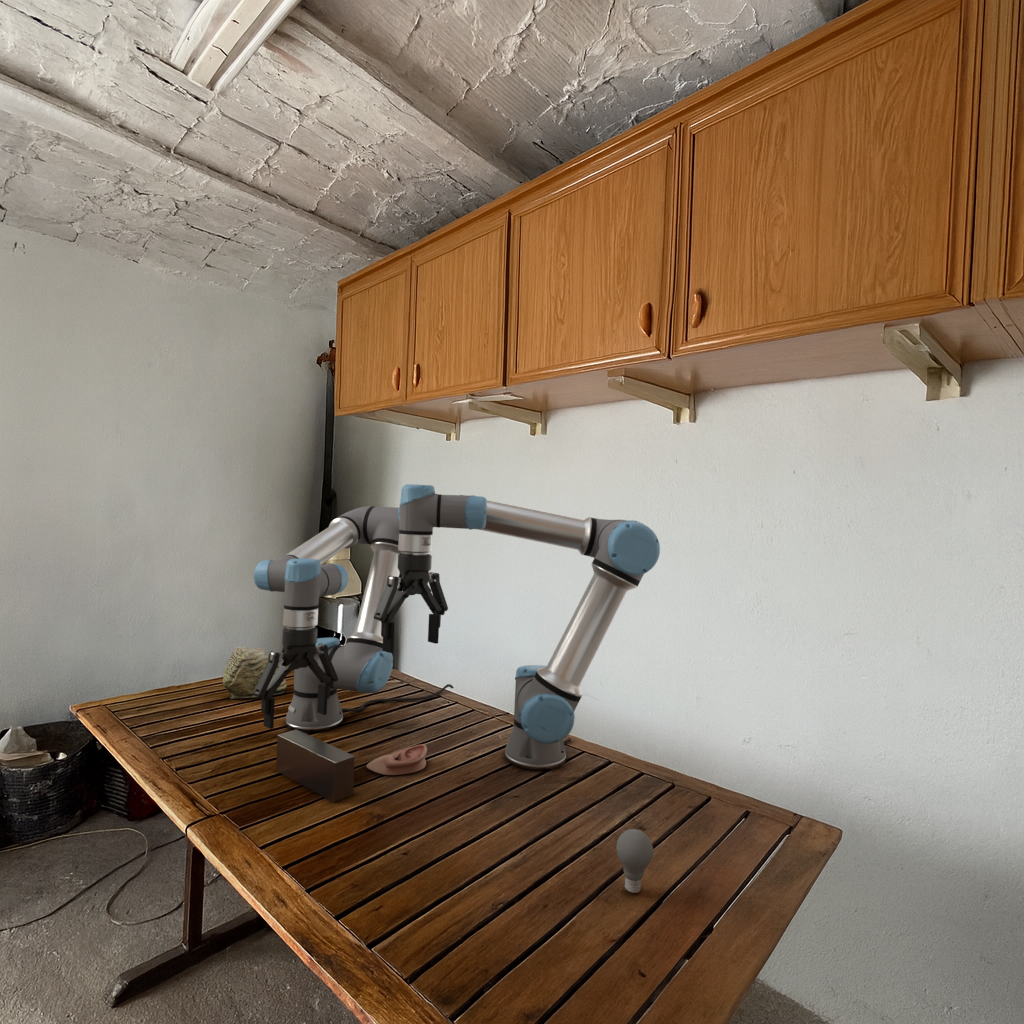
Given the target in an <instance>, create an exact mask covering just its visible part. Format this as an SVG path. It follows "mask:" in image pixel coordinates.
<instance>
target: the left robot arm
mask: <svg viewBox="0 0 1024 1024" xmlns="http://www.w3.org/2000/svg"><path fill="white" fill-rule="evenodd" d="M399 520H400V506H399V507H395V506H373V505H365V506H361V507H357V508H354V509H352V510H349V511H347V512H345V513H343V514H341V515H339V516H337V517H336V518H334V519H333V520H331V521H330V523H329V525H328V527H326V528H325V529H324V530H322V531H320V532H319V533H317V534H315V535H314V536H313V537H311V538H309V539H308V540H306V541H305V542H303V543H302V544H300V545H298V546H297V547H295V548H294V549H293V550H291V551H289V552H288V553H286V554H285V555H283V556H282V557H280V558H278V559H275V560H274V559H264V560H261V561H260V562H259V563H257V565H256V566H255V568H254V571H253V579H254V581H253V583H254V584H255V586H256V587H257V588H258V589H259V590H263V591H268V592H278V593H284V603H283V614H282V615H283V617H282V626H284V627H283V629H282V640H281V643H282V650H281V651H273V650H270V651H269V653H268V656H269V657H268V662H267V664H266V666H265V668H264V671H263V673H262V675H261V677H260V679H259V681H258V683H257V685H256V687H255V690H254V692H253V695H255V696H257V697H256V698H259V699H261V705H260V711H261V713H263V714H264V715H263V727H264V728H266V729H269V730H272V729H274V725H275V723H274V721H275V704H276V703H275V702H276V698H274V697H273V696H274V695H273V694H274V693H275V691H276V690H277V689H278V687H279V686H280V684H281V683H282V681H283V680H284V679H285V680H286V677H287V676H288V675H289V674H290V673H292V672H293V670H294V672H293V695H292V696H293V697H292V699H291V702H290V704H289V705H288V708H287V709H288V711H287V713H286V715H285V726H286V728H287V729H289V730H291V731H292V730H296V729H297V730H299V731H301V732H303V733H316V732H325V731H329V730H332V729H335V728H337V727H339V726H340V725H342V723H343V722H344V714H343V712H353V713H354V712H355V713H356V712H360V711H362V710H363V709H364V708H365V707H366V706H367V705H369V704H372V703H381V702H382V703H383V702H406V701H409V702H411V701H421V700H426V699H430V698H432V697H433V698H434V697H436V696H438V695H440V694H442V693H443V692H444V691H445V690H446V689H447V688H450V689H454V686H453V685H452V684H450V683H447V684H446V685H445V686H443V687H442V688H441V689H440V690H438V691H436V692H434V693H431V694H428V695H424V696H418V697H397V698H396V697H395V698H376V699H370V700H367V701H365V702H364V703H363V704H361V706H359V707H357V708H342V706H341V702H340V699H339V695H338V690H342V691H350V692H358V693H361V694H364V693H367V694H374V693H375V694H376V693H378V692H380V691H381V690H382V689H383V688H384V687H385V685H386V684H387V683H388V681H389V679H390V677H391V675H392V671H393V668H394V667H393V666H394V663H393V661H394V657H393V653H388V652H385V651H382V648H383V637H382V636H381V621H379V620H376V619H374V614H375V612H376V609H377V607H378V604H379V602H380V600H381V597H382V595H383V592H384V590H385V587H386V583H387V577H388V576H395V577H398V576H399V573H400V572H399V569H398V555H399V554H400V553H401V551H399V550H398V544H399ZM358 545H370V549H371V551H372V552H373V556H372V560H371V563H370V568H369V572H368V576H367V581H366V584H365V587H364V592H363V596H362V600H361V604H360V609H359V613H358V616H357V620H356V623H355V624H356V625H355V628H354V632H353V633H352V634H350V635H349V636H347V638H346V641H345V645H341V641H340V639H339V638H337V637H318V628H317V626H318V623H319V603H320V598H322V597H323V598H324V597H328V596H334V595H336V594H339V593H341V592H344V590H345V589H346V588H347V586H348V584H349V580H350V579H349V573H348V571H347V569H346V568H345V567H344V566H343V565H341V564H339V563H332V562H331V563H329V562H328V561H329V560H330V559H332V558H333V557H335V556H336V555H337V554H339V553H340V552H342V551H343V550H344V549H351V548H353V547H354V546H358ZM326 562H328V563H327V564H325V563H326ZM380 615H381V614H380ZM279 663H280V664H279ZM277 668H278V670H277V672H276V673H275V671H276V669H277ZM274 673H275V674H274ZM273 675H274V676H273Z"/></svg>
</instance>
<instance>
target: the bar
mask: <svg viewBox="0 0 1024 1024" xmlns="http://www.w3.org/2000/svg"><path fill="white" fill-rule="evenodd" d="M276 737H277V739H276V765H275V771H276V772H277V773H279V774H281V775H283V776H285V777H286V778H289V779H290V780H292V781H294V782H296V783H297V784H299V785H301V786H303V787H305V788H306V789H308V790H310V791H312V792H313V793H316V794H318V795H319V796H321V797H322V798H324V799H327V800H329V801H330V802H332V803H336V802H339V801H342V800H344V799H346V798H349V797H351V796H353V795H354V782H355V781H354V780H355V778H354V777H355V755H354V754H352V753H349V752H347V751H345V750H343V749H340V748H338V747H336V746H334V745H331V744H330V743H327V742H325V741H323V740H321V739H318V738H316V737H314V736H313V735H310V734H308V733H306V732H301V731H299V730H297V729H296V730H292V729H291V730H289V731H285V732H282V733H278V734H277V736H276Z"/></svg>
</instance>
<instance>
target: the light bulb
mask: <svg viewBox="0 0 1024 1024" xmlns="http://www.w3.org/2000/svg"><path fill="white" fill-rule="evenodd" d="M615 849H616V854H617V857H618V859H619V861H620V863H621V865H622V867H623V873H624V874H623V875H624V876H625V878H624V888H625V890H627V891H628V892H630V893H634V894H635V893H639V892H640V891H641V889H642V887H641V886H642V879H643V877H644V875H645V871H646V868H647V867H648V866H649V864H650V863H651V861H652V859H653V855H654V847H653V843H652V841H651V838H649V836H648V835H647V834H646V833H645V832H643V831H642V830H641V829H636V828H629V829H627V830H625V831H623V832H622V833H621V834H620V835H619V837H618V839H617V841H616V847H615Z"/></svg>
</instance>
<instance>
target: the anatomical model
mask: <svg viewBox="0 0 1024 1024" xmlns="http://www.w3.org/2000/svg"><path fill="white" fill-rule="evenodd" d="M427 754H428V747H427V745H426V744H424V743H421V744H416V745H413V746H409V747H405V748H403V749H401V750H397V751H395V752H392V753H389V754H385V755H382V756H381V755H380V756H379V757H377V758H375V759H372V760H371V761H370V762H368V763H367V764H366V768H367V770H369V771H371V772H374V773H377V774H379V775H383V776H399V775H406V774H412V773H417V772H419V771H421V770H423V769H424V768H425V767H426V766H427V760H426V756H427Z"/></svg>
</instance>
